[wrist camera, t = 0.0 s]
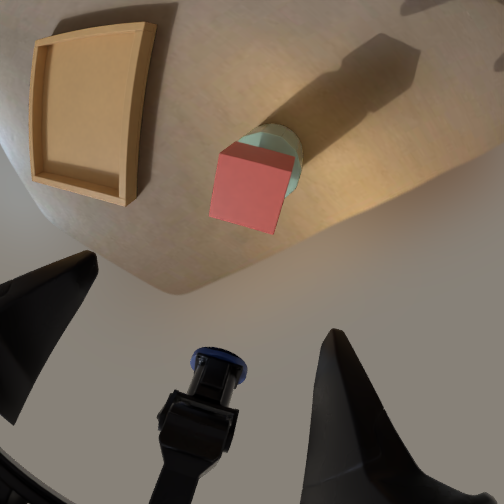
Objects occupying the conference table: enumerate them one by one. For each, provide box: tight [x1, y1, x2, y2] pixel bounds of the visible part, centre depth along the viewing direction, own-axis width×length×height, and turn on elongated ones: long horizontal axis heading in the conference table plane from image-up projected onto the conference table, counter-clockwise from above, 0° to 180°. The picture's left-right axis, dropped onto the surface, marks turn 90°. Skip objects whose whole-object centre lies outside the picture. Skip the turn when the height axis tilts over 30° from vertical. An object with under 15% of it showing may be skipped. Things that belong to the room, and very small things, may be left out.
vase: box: [238, 123, 303, 199], centre depth 19 cm, size 5×5×5 cm
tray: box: [29, 22, 157, 207], centre depth 21 cm, size 17×15×2 cm
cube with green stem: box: [209, 141, 295, 235], centre depth 17 cm, size 3×3×9 cm
